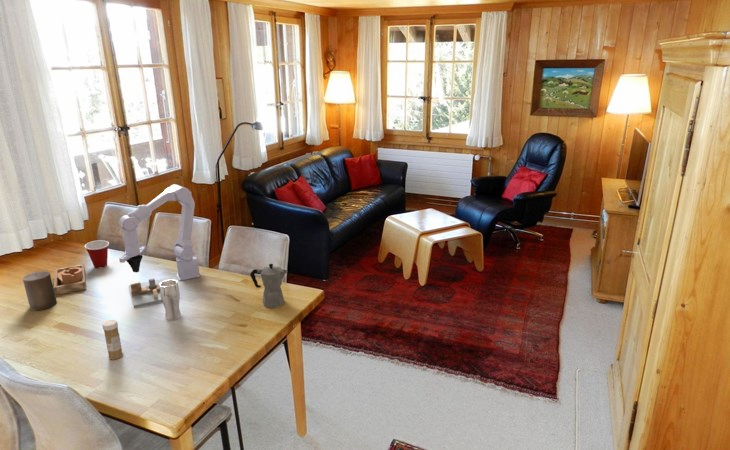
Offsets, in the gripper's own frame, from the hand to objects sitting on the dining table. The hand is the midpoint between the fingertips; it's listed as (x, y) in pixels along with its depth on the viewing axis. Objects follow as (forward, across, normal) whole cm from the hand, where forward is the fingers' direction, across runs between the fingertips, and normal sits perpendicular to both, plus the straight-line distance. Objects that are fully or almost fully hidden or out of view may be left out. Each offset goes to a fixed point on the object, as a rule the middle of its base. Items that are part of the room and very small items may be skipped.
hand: (136, 271), depth 215 cm
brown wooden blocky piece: (+8, +2, +5) cm, 10 cm away
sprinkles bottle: (+10, +45, +27) cm, 54 cm away
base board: (+9, 0, +8) cm, 12 cm away
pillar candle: (+10, +22, -30) cm, 38 cm away
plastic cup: (+10, -18, -38) cm, 43 cm away
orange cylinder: (+9, +1, -37) cm, 38 cm away
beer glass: (+10, +16, +29) cm, 35 cm away
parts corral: (+9, +1, -37) cm, 38 cm away
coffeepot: (+10, -5, +62) cm, 63 cm away
